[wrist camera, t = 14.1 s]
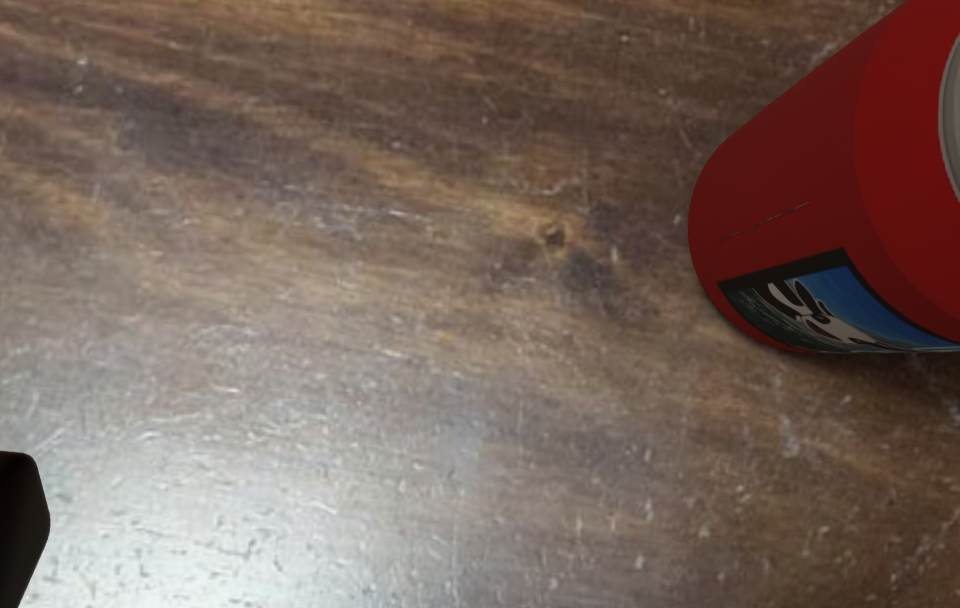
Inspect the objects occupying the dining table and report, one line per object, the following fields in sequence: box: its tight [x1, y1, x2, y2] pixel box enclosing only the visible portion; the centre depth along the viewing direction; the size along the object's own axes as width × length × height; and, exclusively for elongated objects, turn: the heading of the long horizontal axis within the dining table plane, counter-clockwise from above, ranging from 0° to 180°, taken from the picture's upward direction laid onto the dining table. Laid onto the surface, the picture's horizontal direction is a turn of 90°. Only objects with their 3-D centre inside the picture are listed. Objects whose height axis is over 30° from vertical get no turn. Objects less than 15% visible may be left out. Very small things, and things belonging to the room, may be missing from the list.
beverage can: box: [688, 0, 960, 353], centre depth 19 cm, size 7×7×12 cm
